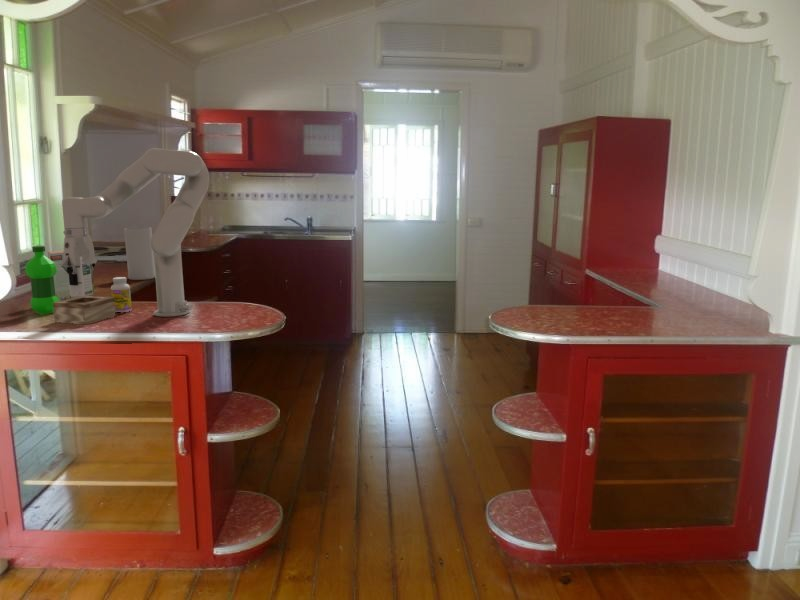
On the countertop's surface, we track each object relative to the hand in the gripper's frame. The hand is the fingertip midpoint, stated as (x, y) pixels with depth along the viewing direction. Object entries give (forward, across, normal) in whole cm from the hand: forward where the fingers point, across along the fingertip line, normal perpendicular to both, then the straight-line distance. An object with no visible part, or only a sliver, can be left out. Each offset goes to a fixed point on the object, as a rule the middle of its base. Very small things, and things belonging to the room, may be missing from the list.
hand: (81, 283), depth 243 cm
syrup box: (+5, 0, 0) cm, 5 cm away
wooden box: (+13, 0, 0) cm, 13 cm away
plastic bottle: (+13, +5, +24) cm, 28 cm away
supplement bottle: (+13, +15, -3) cm, 20 cm away
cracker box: (+13, +26, +32) cm, 43 cm away
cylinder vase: (+13, +86, +48) cm, 99 cm away
